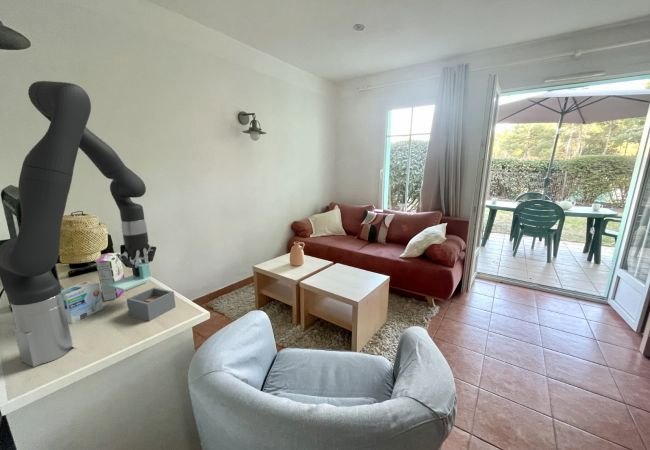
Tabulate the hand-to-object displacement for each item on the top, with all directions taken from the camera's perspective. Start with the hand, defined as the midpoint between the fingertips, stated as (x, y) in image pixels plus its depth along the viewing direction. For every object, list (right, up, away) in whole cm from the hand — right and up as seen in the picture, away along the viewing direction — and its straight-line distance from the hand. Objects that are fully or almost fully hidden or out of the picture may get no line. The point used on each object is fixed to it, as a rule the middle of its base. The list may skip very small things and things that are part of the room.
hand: (141, 274), depth 102 cm
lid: (-2, -3, -4) cm, 5 cm away
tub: (+10, -12, -7) cm, 17 cm away
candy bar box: (-16, -10, +7) cm, 19 cm away
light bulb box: (-14, -13, -10) cm, 22 cm away
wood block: (+8, -11, -5) cm, 15 cm away
